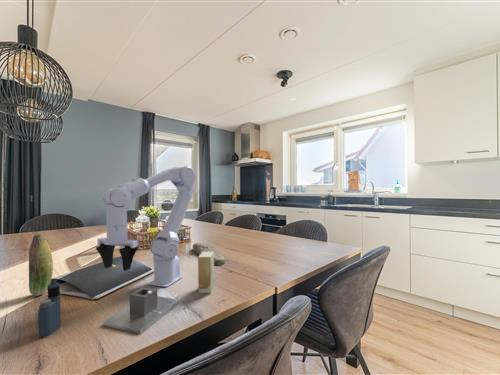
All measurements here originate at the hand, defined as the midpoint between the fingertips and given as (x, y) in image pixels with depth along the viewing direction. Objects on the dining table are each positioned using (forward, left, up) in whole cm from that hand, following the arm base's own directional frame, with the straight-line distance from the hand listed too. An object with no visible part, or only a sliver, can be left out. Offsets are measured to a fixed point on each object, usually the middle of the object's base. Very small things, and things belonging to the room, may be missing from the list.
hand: (117, 268), depth 77 cm
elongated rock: (-50, +5, -10) cm, 52 cm away
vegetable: (+6, -26, -10) cm, 28 cm away
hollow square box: (+5, +15, -8) cm, 18 cm away
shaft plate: (+5, +15, -9) cm, 18 cm away
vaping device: (+19, -1, -10) cm, 21 cm away
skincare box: (-14, +24, -10) cm, 29 cm away
